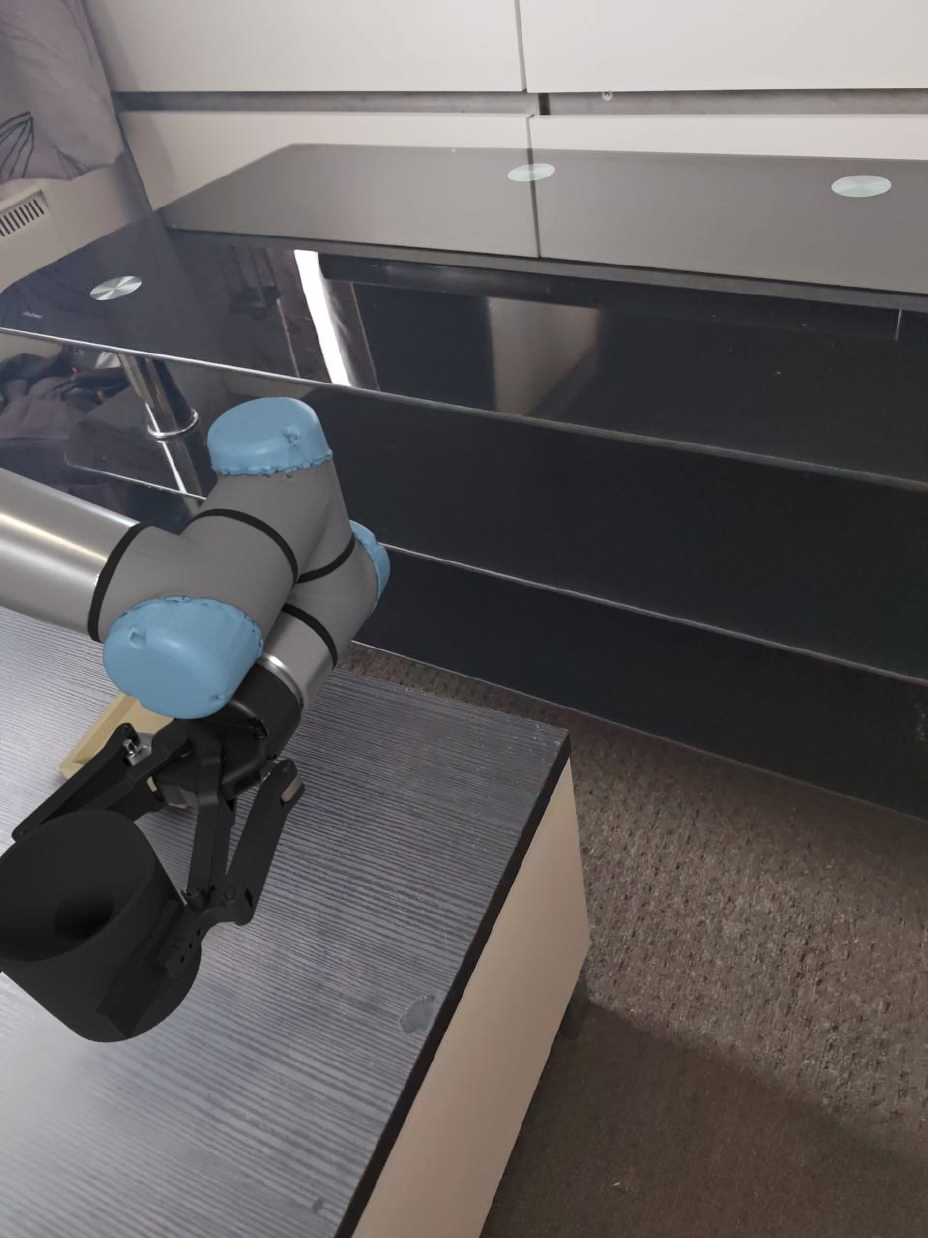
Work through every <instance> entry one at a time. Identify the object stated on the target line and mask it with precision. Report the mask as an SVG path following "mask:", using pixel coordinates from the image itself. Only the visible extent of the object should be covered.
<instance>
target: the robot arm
mask: <svg viewBox="0 0 928 1238" xmlns="http://www.w3.org/2000/svg"><path fill="white" fill-rule="evenodd" d="M206 446H207V449H208V453H209V456H210V464H211V465H210V468H211V469H212V471H213V472H215V474H216V477H217V482H216V484H215V485H214V487H213V488H212V490H211V491H210V492H209V494H208V495H207V497H206V498H205V499H204V500H203V502H202V503H201V505H200V507H198V509H197V511H196V512H195V513H194V515H193V516H192V518H191V519H190V520H189V522H188V523H187V524H186V526H185V527H184V529H182V532H180V534H179V535H178V534H175V533H172V532H171V531H167V530H165V529H162V528H160V527H157V526H153V525H151V524H149V523H146V522H141V521H139V520H136V519H134V518H131V517H128V516H126V515H123V514H121V513H118V512H116V511H113V510H111V509H108V508H105V507H103V506H100V505H99V504H95V503H93V502H91V501H87V500H85V499H83V498H80V497H77V496H75V495H73V494H69V493H68V492H65V491H62V490H60V489H57V488H54V487H52V486H50V485H46V484H44V483H41V482H40V481H37V480H34V479H31V478H29V477H26V476H23V475H21V474H19V473H16V472H13V471H11V470H9V469H5V468H3V467H1V466H0V607H2V608H5V609H8V610H10V611H13V612H15V613H18V614H20V615H23V616H25V617H29V618H30V619H33V620H36V621H39V622H42V623H45V624H47V625H50V626H52V627H56V628H58V629H60V630H63V631H66V632H67V633H68V632H69V633H70V634H74V635H76V636H80V637H82V638H84V639H87V640H89V641H92V642H95V643H98V644H101V645H102V646H103V647H102V652H101V653H102V663H103V667H104V669H105V672H106V675H107V676H108V678H109V679H110V680H111V682H112V683H113V684H114V686H115V687H116V688H117V689H118V690H119V691H120V692H122V693H124V694H125V695H127V696H133V697H135V698H137V699H138V700H139V701H140V703H141V705H142V707H144V708H146V709H148V710H150V711H152V712H155V713H157V714H160V715H164V716H168V717H172V718H174V719H173V720H172V721H171V722H170V723H169V724H167V725H166V726H165V727H163V728H161V729H160V730H158V731H157V732H156V733H155V734H151V733H141V732H136V730H135V729H134V727H133V725H132V724H131V723H128V722H127V723H122V724H120V725H119V726H118V727H117V728H116V729H115V730H114V732H113V733H112V735H111V737H110V738H109V740H108V741H107V743H106V744H105V746H104V747H103V749H101V750H100V751H99V752H98V753H97V754H96V755H95V756H94V757H93V758H92V759H90V760H89V761H88V762H87V763H86V764H85V765H84V766H83V767H82V768H81V769H79V770H78V771H77V772H76V773H75V774H74V775H73V776H72V777H71V778H70V779H67V780H66V781H65V782H64V783H63V784H61V786H59V787H58V788H57V789H56V790H55V791H54V792H53V793H52V794H51V795H50V796H48V797H47V798H46V799H45V800H44V801H43V802H42V803H41V804H40V805H38V806H37V808H35V809H34V810H33V811H32V812H31V813H30V814H29V815H28V816H27V817H25V818H24V819H23V820H22V821H21V822H19V824H18V825H16V827H14V829H13V830H12V831H11V834H10V835H11V838H12V840H13V841H14V843H15V842H16V841H17V840H19V839H20V838H21V837H23V836H24V835H26V834H27V833H28V832H30V831H31V830H33V829H35V828H36V827H38V826H40V825H42V824H44V823H46V822H48V821H50V820H52V819H55V818H57V817H59V816H62V815H66V814H69V813H72V812H77V811H82V810H93V809H94V810H108V811H113V812H116V813H119V814H122V815H124V816H125V817H127V818H129V819H130V820H131V821H133V822H134V823H135V822H136V821H138V820H139V819H141V818H142V817H143V816H145V815H147V814H149V813H151V814H153V813H154V814H155V813H158V812H160V811H161V810H163V809H164V808H165V807H167V806H169V805H168V804H169V803H171V804H175V805H187V806H190V807H191V808H193V809H194V810H195V811H197V817H196V824H195V830H194V837H193V844H192V853H191V857H190V864H189V870H188V871H189V872H188V878H187V886H186V888H185V891H186V892H185V891H184V889H180V894H181V897H182V898H183V899H184V900H185V902H186V904H185V907H183V906H182V904H181V903H180V902H178V901H175V900H171V899H168V901H167V902H166V904H165V905H164V907H163V909H162V910H161V912H160V913H159V915H158V917H157V919H156V921H155V923H154V925H153V927H152V929H151V930H150V932H149V933H148V934H147V936H146V937H145V939H144V940H143V941H142V942H141V944H140V945H139V946H138V947H137V948H136V950H135V952H134V953H133V955H132V956H131V958H130V959H129V961H128V962H127V964H126V965H125V967H124V968H123V970H122V972H121V973H120V975H119V976H118V978H117V979H116V981H115V982H114V984H113V985H112V987H111V988H110V990H109V992H108V993H107V995H106V996H105V998H104V999H103V1001H102V1002H101V1004H100V1005H99V1007H98V1008H97V1010H96V1011H95V1012H96V1014H97V1015H98V1016H99V1017H100V1018H101V1019H102V1020H103V1021H104V1022H105V1023H106V1024H107V1025H108V1026H109V1028H110V1029H111V1030H112V1031H113V1032H114V1033H115V1034H116V1035H117V1036H120V1037H122V1038H125V1039H127V1040H130V1039H131V1038H130V1036H131V1034H132V1033H133V1031H134V1030H135V1028H136V1026H137V1025H138V1023H139V1021H140V1020H141V1018H142V1017H143V1015H144V1013H145V1012H146V1010H147V1008H148V1007H149V1005H150V1003H151V1002H152V1000H153V999H154V997H155V995H156V994H157V992H158V990H159V989H160V987H161V986H162V984H163V982H164V981H165V979H166V977H167V976H170V977H173V978H177V977H178V976H179V975H180V974H181V973H182V972H183V971H184V970H185V968H186V967H187V965H188V963H189V961H190V960H191V958H192V957H193V955H194V953H195V952H196V950H197V949H198V947H199V945H200V944H201V945H202V942H203V940H204V938H205V937H206V935H207V934H208V932H209V931H210V930H211V929H212V928H214V927H215V926H216V925H218V924H222V923H232V922H233V923H234V924H235V925H236V926H238V927H243V926H246V925H248V924H249V923H251V922H252V921H253V919H254V916H255V914H256V911H257V908H258V904H259V902H260V899H261V895H262V892H263V890H264V887H265V884H266V880H267V878H268V874H269V872H270V869H271V866H272V862H273V859H274V857H275V853H276V850H277V848H278V845H279V842H280V838H281V837H282V833H283V830H284V827H285V824H286V821H287V818H288V815H289V814H290V813H291V811H292V810H293V808H294V807H295V805H296V804H297V803H298V802H299V800H300V799H301V798H302V796H303V795H304V794H305V791H306V786H305V784H304V782H303V780H302V777H301V775H300V772H299V770H298V768H297V765H296V764H295V762H294V760H292V759H291V758H286V759H285V758H284V759H282V760H280V761H279V762H276V760H277V759H278V758H279V757H280V755H281V754H282V752H283V751H284V749H285V748H286V746H287V744H288V743H289V742H290V740H291V739H292V737H293V735H294V734H295V732H296V731H297V729H298V727H299V726H300V723H301V720H302V717H303V716H305V714H307V712H308V711H309V709H310V707H311V706H312V704H313V703H314V701H315V700H316V698H317V696H318V695H319V693H320V691H322V689H323V688H324V685H325V683H326V682H327V680H328V679H329V678H330V676H331V674H332V672H333V671H334V669H335V668H336V666H337V665H338V662H339V660H340V658H341V657H342V655H343V654H344V653H345V651H346V650H347V648H348V646H349V645H350V644H351V643H352V641H353V640H354V638H355V636H356V635H357V634H358V632H359V630H360V629H361V627H362V626H363V625H364V623H365V621H367V620H368V619H369V617H371V615H372V614H373V612H374V611H375V608H376V607H377V605H378V601H379V599H380V597H381V595H382V593H383V592H384V589H385V588H386V585H387V583H388V581H389V578H390V574H391V561H390V558H389V555H388V552H387V549H386V548H385V546H383V545H381V544H380V543H379V542H378V541H377V539H376V535H375V534H374V533H373V532H372V531H371V530H370V529H368V528H367V527H365V526H364V525H362V524H361V523H359V522H356V521H354V520H352V519H350V518H349V515H348V511H347V507H346V503H345V500H344V496H343V495H344V494H343V492H342V488H341V485H340V481H339V477H338V474H337V470H336V466H335V462H334V459H333V458H334V453H333V450H332V449H331V448H330V447H329V443H328V442H327V439H326V437H325V433H324V430H323V428H322V425H321V422H320V419H319V416H318V415H317V413H316V411H315V410H314V409H313V408H312V407H311V406H310V405H308V404H307V403H305V401H304V402H303V400H299V399H297V398H292V397H289V396H288V397H286V396H279V397H277V396H276V397H275V396H274V397H270V396H269V397H268V396H267V397H261V398H257V399H252V400H248V401H246V402H243V403H240V404H238V405H236V406H233V407H232V408H229V409H228V410H227V411H225V412H223V413H222V414H221V415H220V416H218V417H217V418H216V419H215V420H214V422H212V423H211V425H210V427H209V429H208V432H207V438H206ZM150 777H151V778H152V781H153V783H154V785H155V787H156V788H157V790H155V791H152V790H151V788H150V787H149V785H148V783H147V781H148V779H149V778H150ZM256 786H258V787H259V788H258V790H257V792H256V793H255V794H256V795H255V796H254V799H253V801H252V805H251V807H250V810H249V812H248V816H247V817H246V821H245V823H244V827H243V829H242V832H241V834H240V837H239V840H238V842H237V845H236V848H235V851H234V854H233V856H232V858H231V861H230V863H229V867H228V862H229V861H228V860H229V852H230V842H231V836H232V835H231V833H232V828H233V827H234V826H235V825H236V817H237V807H238V799H239V796H241V795H242V794H245V793H246V792H248V791H249V790H251V789H253V788H255V787H256ZM227 868H228V870H227ZM1 973H3V972H2V971H1V970H0V974H1ZM129 1038H130V1039H129Z"/></svg>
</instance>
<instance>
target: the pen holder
mask: <svg viewBox="0 0 928 1238" xmlns="http://www.w3.org/2000/svg"><path fill="white" fill-rule="evenodd" d="M168 899H171V900H175V901H178V902H180V903H181V904H182V906H183V907H185V906H186V904H185V902H184V900H183V899H182V896H181V895H180V894H179V892H178V890H177V888H176V887H175V885H174V883H173V881H172V880H171V878H170V876H169V874H168V871H166V869H165V868H164V866H163V863H162V862H161V859H159V857H158V855H157V854H156V852H155V850H154V848H153V847H152V845H151V843H150V841H149V840H148V838H147V837H146V835H145V833H144V831H142V829H141V828H140V827H139V825H137V824H136V823H135V822H133V821H131V820H130V819H129V818H127V817H125V816H124V815H122V814H119V813H116V812H113V811H108V810H94V809H93V810H82V811H77V812H72V813H69V814H66V815H62V816H59V817H57V818H55V819H52V820H50V821H48V822H46V823H44V824H42V825H40V826H38V827H36V828H35V829H33V830H31V831H30V832H28V833H27V834H26V835H24V836H23V837H21V838H20V839H19V840H17V841H16V842H15V841H14V843H13V844H11V845H10V846H9V847H8V848H7V849H6V850H5V851H4V852H3V854H2V855H0V970H1V971H2V972H1V973H3V974H4V975H5V976H7V977H8V978H9V979H10V980H11V981H12V982H13V983H15V984H16V986H18V987H19V988H21V989H22V990H23V991H24V992H25V993H26V994H27V995H29V996H30V997H31V998H32V999H33V1000H35V1002H37V1003H38V1004H39V1005H40V1006H41V1007H42V1008H44V1010H46V1011H47V1012H49V1014H50V1015H52V1016H53V1017H54V1018H55V1019H57V1020H58V1021H59V1022H61V1023H62V1024H63V1025H64V1026H65V1027H67V1028H68V1029H69V1030H70V1031H72V1032H73V1033H75V1034H76V1035H77V1036H79V1037H81V1038H83V1039H86V1040H88V1041H92V1042H96V1043H105V1044H106V1043H119V1042H123V1041H127V1040H130V1039H134V1038H136V1037H139V1036H141V1035H143V1034H145V1033H147V1032H149V1031H150V1030H152V1029H153V1028H156V1027H157V1026H158V1025H159V1024H161V1023H162V1022H164V1021H165V1020H166V1019H167V1018H168V1017H169V1016H171V1015H172V1014H173V1013H174V1012H175V1010H177V1008H178V1007H180V1005H181V1004H182V1002H183V1001H184V1000H185V998H186V997H187V995H188V994H189V993H190V991H191V989H192V988H193V985H194V983H195V981H196V979H197V976H198V974H199V971H200V967H201V962H202V954H203V947H202V943H201V944H200V945H199V947H198V949H197V950H196V952H195V953H194V955H193V957H192V958H191V960H190V961H189V963H188V965H187V967H186V968H185V970H184V971H183V972H182V973H181V974H180V975H179V976H178V977H177V978H173V977H170V976H167V977H166V979H165V981H164V982H163V984H162V986H161V987H160V989H159V990H158V992H157V994H156V995H155V997H154V999H153V1000H152V1002H151V1003H150V1005H149V1007H148V1008H147V1010H146V1012H145V1013H144V1015H143V1017H142V1018H141V1020H140V1021H139V1023H138V1025H137V1026H136V1028H135V1030H134V1031H133V1033H132V1034H131V1036H130V1038H129V1039H125V1038H122V1037H120V1036H117V1035H116V1034H115V1033H114V1032H113V1031H112V1030H111V1029H110V1028H109V1026H108V1025H107V1024H106V1023H105V1022H104V1021H103V1020H102V1019H101V1018H100V1017H99V1016H98V1015H97V1014H96V1012H95V1011H96V1010H97V1008H98V1007H99V1005H100V1004H101V1002H102V1001H103V999H104V998H105V996H106V995H107V993H108V992H109V990H110V988H111V987H112V985H113V984H114V982H115V981H116V979H117V978H118V976H119V975H120V973H121V972H122V970H123V968H124V967H125V965H126V964H127V962H128V961H129V959H130V958H131V956H132V955H133V953H134V952H135V950H136V948H137V947H138V946H139V945H140V944H141V942H142V941H143V940H144V939H145V937H146V936H147V934H148V933H149V932H150V930H151V929H152V927H153V925H154V923H155V921H156V919H157V917H158V915H159V913H160V912H161V910H162V909H163V907H164V905H165V904H166V902H167V901H168Z"/></svg>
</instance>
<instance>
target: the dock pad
mask: <svg viewBox="0 0 928 1238" xmlns="http://www.w3.org/2000/svg"><path fill="white" fill-rule="evenodd" d="M173 719H174V718H172V717H168V716H164V715H160V714H157V713H155V712H152V711H150V710H148V709H146V708H144V707H142V705H141V703H140V701H139V700H138V699H137V698H135V697H133V696H127V695H125V694H124V693H122V692H121V691H120V692H119V693H118V694H117V695H116V697H114V698H113V700H112V701H111V703H110V704H109V706H107V707H106V709H105V710H104V711H103V712H102V714H101V715H100V716H99V717H98V719H96V721H95V722H94V723H93V725H92V726H91V727H90V728H89V729H88V730H87V732H86V733H85V734H84V735H83V736H82V737H81V739H80V740H79V741H78V742H77V743H76V745H75V746H74V747H73V748H72V749H71V751H70V752H69V753H68V754H67V756H66V757H65V758H64V759H63V760H62V762H61V763H60V764H59V766H58V769H59V770H60V771H61V773H62V774H63V776H64V778H65V779H67V780H68V779H70V778H71V777H72V776H73V775H74V774H75V773H76V772H77V771H78V770H79V769H81V768H82V767H83V766H84V765H85V764H86V763H87V762H88V761H89V760H90V759H92V758H93V757H94V756H95V755H96V754H97V753H98V752H99V751H100V750H101V749H103V747H104V746H105V744H106V743H107V741H108V740H109V738H110V737H111V735H112V733H113V732H114V730H115V729H116V728H117V727H118V726H119V725H120V724H122V723H127V722H128V723H131V724H132V725H133V727H134V729H135V730H136V732H141V733H151V734H155V733H156V732H157V731H158V730H160V729H161V728H163V727H165V726H166V725H167V724H169V723H170V722H171V721H172V720H173ZM147 783H148V785H149V787H150V788H151V790H152V791H155V790H157V788H156V787H155V785H154V783H153V781H152V778H151V777H150V778H149V779H148V781H147ZM167 806H172V807H175V808H176V807H177V808H180V809H183V810H185V809H186V808H187V807H188V805H175V804H171V803H169V804H168V805H167Z"/></svg>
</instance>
